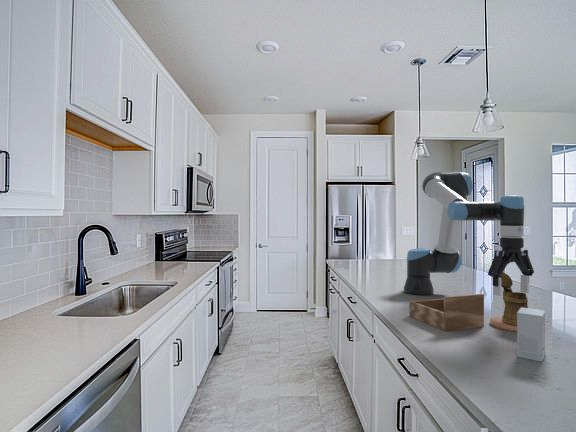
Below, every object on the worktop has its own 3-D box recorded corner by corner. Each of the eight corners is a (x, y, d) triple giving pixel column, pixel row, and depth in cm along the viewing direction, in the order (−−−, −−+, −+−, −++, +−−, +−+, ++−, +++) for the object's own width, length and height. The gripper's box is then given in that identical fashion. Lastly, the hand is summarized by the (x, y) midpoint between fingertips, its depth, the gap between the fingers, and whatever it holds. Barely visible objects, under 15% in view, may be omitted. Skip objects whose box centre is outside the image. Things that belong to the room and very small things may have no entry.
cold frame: (409, 316, 149) (409, 286, 149) (443, 312, 154) (444, 284, 154) (446, 331, 129) (446, 297, 129) (483, 326, 135) (483, 294, 135)
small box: (520, 348, 112) (520, 306, 112) (545, 353, 108) (545, 310, 108) (516, 356, 106) (516, 312, 106) (542, 362, 102) (542, 316, 102)
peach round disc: (481, 322, 140) (481, 318, 140) (508, 319, 144) (508, 315, 144) (514, 333, 127) (514, 329, 127) (543, 329, 131) (543, 325, 131)
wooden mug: (510, 316, 143) (510, 270, 143) (537, 326, 130) (537, 276, 130) (489, 317, 142) (489, 271, 142) (514, 327, 129) (514, 276, 129)
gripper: (494, 238, 128) (494, 298, 128) (545, 237, 136) (545, 293, 136) (477, 237, 135) (476, 293, 135) (526, 235, 143) (526, 289, 143)
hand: (511, 293), depth 136 cm, fingers open, 13 cm apart
